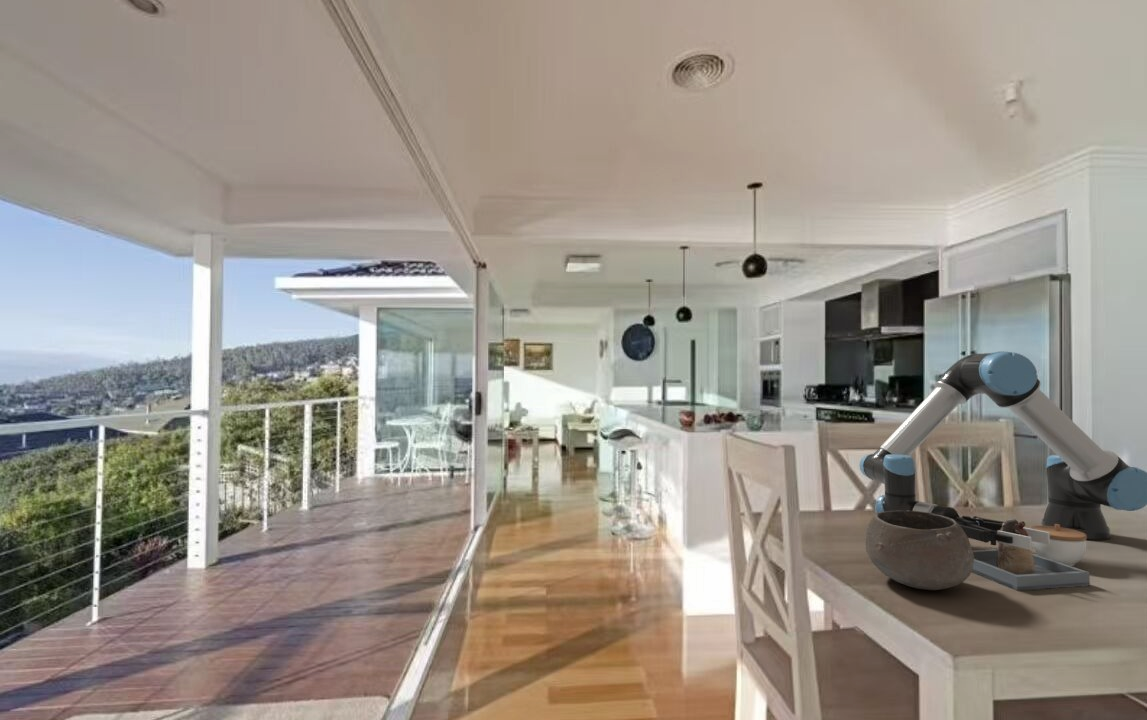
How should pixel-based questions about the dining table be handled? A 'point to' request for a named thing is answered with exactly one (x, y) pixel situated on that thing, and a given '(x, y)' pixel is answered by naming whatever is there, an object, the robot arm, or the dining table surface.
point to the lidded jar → (1062, 544)
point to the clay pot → (919, 549)
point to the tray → (1043, 577)
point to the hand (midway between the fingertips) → (1039, 540)
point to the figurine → (1015, 551)
